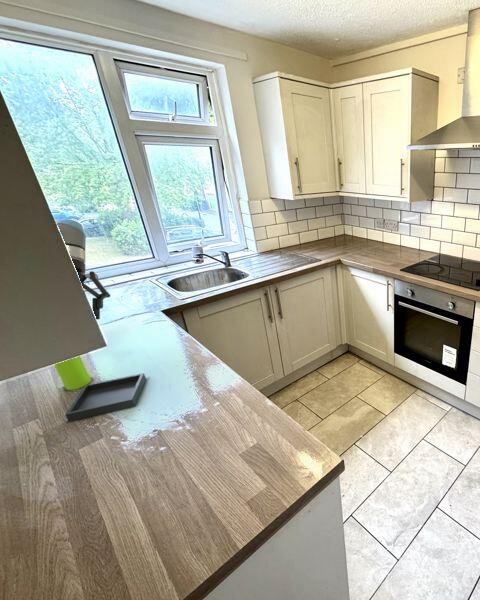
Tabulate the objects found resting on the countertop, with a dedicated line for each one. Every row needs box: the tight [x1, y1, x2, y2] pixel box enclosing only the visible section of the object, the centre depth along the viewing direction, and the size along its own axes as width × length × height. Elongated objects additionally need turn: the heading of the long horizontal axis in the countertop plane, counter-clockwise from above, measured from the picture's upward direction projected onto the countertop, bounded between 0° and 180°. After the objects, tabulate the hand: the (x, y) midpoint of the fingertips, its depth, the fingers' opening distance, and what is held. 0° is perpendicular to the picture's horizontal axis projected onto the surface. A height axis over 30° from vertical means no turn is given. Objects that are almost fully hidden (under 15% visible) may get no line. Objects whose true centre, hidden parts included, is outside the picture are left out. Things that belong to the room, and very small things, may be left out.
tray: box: [64, 372, 147, 422], centre depth 95 cm, size 15×14×2 cm
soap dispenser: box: [53, 355, 92, 391], centre depth 98 cm, size 6×7×20 cm
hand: (68, 322), depth 102 cm, fingers open, 13 cm apart
